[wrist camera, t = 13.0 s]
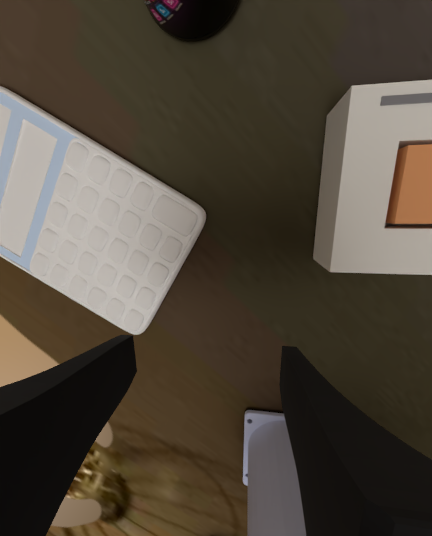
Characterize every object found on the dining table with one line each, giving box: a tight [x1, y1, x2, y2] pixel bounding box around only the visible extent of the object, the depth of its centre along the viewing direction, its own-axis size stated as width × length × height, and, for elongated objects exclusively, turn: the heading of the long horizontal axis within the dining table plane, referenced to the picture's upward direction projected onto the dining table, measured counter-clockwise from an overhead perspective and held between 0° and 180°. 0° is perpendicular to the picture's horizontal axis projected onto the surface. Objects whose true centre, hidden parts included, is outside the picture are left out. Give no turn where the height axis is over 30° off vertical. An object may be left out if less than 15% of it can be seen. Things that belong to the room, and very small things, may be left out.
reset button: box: [385, 144, 432, 224], centre depth 14 cm, size 4×4×3 cm
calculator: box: [0, 86, 206, 335], centre depth 20 cm, size 13×20×2 cm, turn 60°
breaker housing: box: [313, 80, 432, 275], centre depth 14 cm, size 10×10×4 cm
